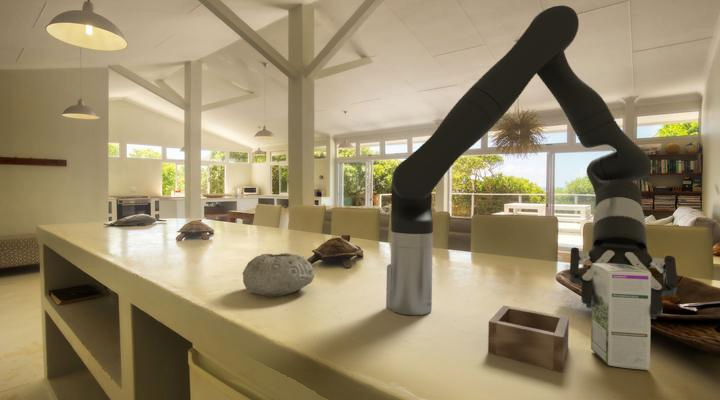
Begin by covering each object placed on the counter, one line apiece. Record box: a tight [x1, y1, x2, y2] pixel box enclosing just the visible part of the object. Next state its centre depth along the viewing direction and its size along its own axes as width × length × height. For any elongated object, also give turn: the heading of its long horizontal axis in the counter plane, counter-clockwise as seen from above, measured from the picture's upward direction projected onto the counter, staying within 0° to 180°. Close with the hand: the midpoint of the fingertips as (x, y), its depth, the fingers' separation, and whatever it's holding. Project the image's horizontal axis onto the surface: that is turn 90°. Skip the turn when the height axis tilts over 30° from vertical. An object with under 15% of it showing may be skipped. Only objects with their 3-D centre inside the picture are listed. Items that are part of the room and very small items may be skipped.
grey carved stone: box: [242, 252, 315, 297], centre depth 88 cm, size 18×18×10 cm
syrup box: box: [590, 263, 652, 371], centre depth 53 cm, size 6×6×14 cm
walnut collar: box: [487, 305, 570, 373], centre depth 56 cm, size 10×10×5 cm
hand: (620, 310), depth 51 cm, fingers closed on syrup box, 7 cm apart
